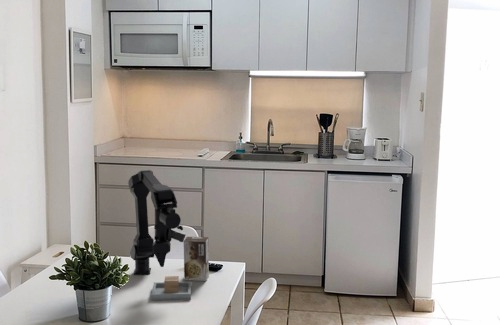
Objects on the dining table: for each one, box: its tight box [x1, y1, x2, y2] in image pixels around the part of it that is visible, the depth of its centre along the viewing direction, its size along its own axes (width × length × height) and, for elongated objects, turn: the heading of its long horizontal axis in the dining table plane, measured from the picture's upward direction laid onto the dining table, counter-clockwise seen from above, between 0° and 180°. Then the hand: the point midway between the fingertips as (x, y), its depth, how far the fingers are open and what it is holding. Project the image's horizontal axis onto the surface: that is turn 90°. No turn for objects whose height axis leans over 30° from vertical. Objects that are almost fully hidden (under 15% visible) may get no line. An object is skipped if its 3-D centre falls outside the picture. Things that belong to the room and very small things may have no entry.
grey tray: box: [150, 281, 192, 301], centre depth 209 cm, size 12×14×2 cm
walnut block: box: [163, 275, 180, 293], centre depth 208 cm, size 5×5×5 cm
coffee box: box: [183, 236, 210, 282], centre depth 224 cm, size 9×6×16 cm
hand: (162, 262), depth 210 cm, fingers open, 9 cm apart
